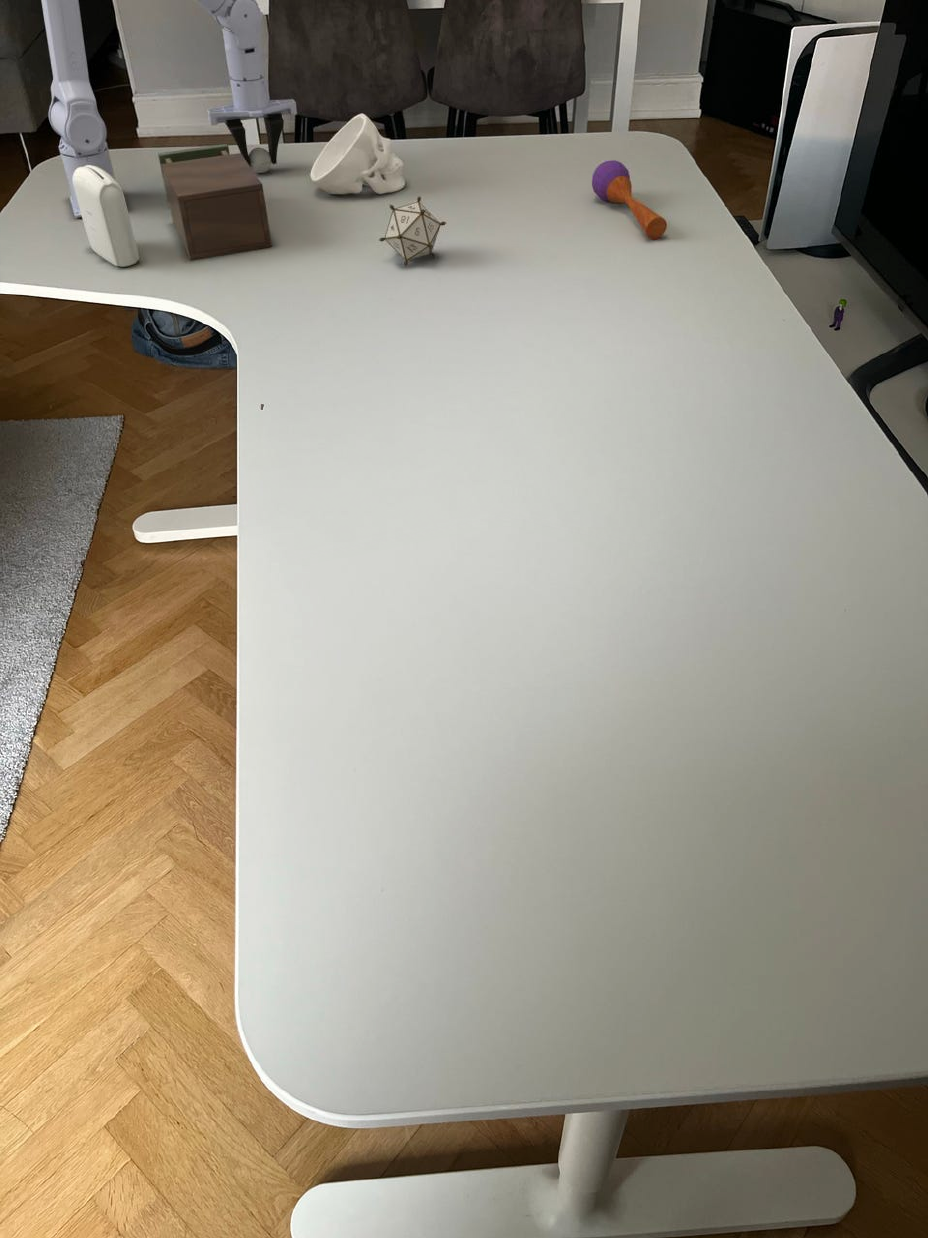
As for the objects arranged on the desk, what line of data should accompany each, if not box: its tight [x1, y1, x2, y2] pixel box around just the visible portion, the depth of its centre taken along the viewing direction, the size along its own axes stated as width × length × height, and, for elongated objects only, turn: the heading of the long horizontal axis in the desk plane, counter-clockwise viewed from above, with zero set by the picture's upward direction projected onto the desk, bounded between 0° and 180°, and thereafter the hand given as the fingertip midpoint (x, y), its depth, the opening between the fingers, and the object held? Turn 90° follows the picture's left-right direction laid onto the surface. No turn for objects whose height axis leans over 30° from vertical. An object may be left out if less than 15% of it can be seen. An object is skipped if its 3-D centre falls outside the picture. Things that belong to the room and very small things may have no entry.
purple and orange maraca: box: [591, 159, 668, 240], centre depth 153 cm, size 6×6×20 cm
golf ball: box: [248, 147, 272, 174], centre depth 170 cm, size 4×4×4 cm
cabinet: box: [160, 152, 273, 261], centre depth 148 cm, size 15×12×9 cm
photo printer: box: [72, 165, 140, 268], centre depth 142 cm, size 10×4×12 cm, turn 39°
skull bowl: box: [309, 113, 406, 195], centre depth 163 cm, size 10×14×12 cm
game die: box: [378, 195, 447, 268], centre depth 141 cm, size 9×8×10 cm
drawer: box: [157, 143, 231, 203], centre depth 156 cm, size 18×11×7 cm, turn 22°
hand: (260, 163), depth 171 cm, fingers closed on golf ball, 4 cm apart
